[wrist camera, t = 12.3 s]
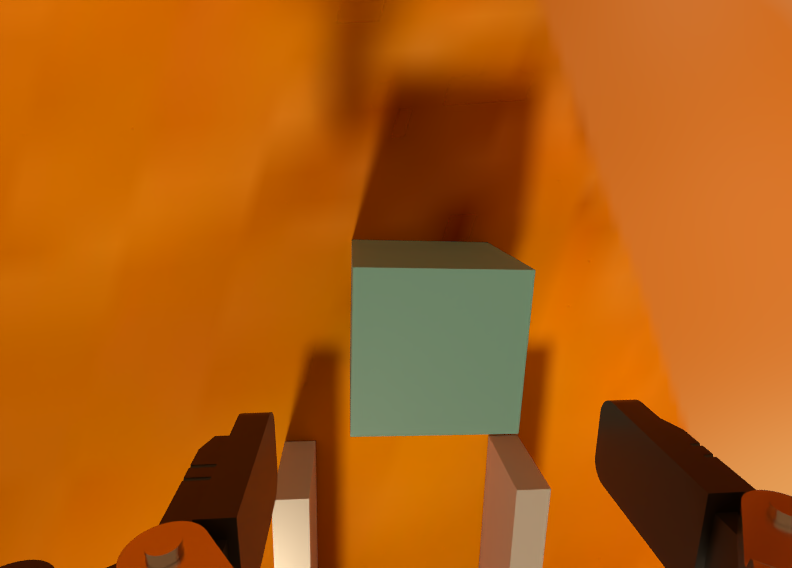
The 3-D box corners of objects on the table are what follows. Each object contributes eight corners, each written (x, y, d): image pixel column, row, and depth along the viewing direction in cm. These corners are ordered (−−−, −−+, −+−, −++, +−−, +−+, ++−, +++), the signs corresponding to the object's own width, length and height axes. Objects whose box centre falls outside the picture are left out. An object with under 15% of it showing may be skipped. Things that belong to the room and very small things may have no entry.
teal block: (350, 367, 19) (350, 436, 14) (351, 239, 18) (353, 267, 13) (476, 366, 20) (518, 433, 15) (486, 241, 18) (535, 270, 14)
